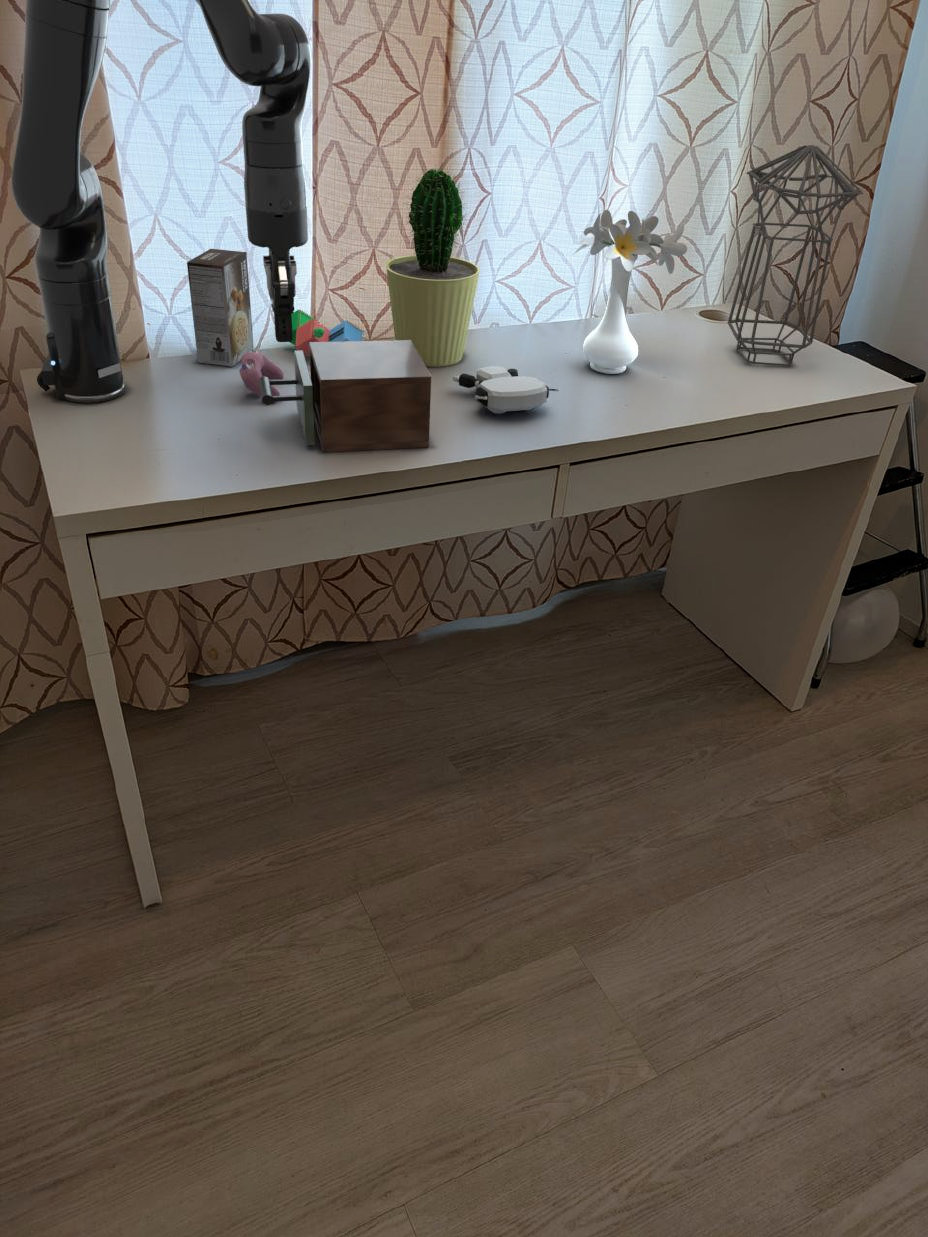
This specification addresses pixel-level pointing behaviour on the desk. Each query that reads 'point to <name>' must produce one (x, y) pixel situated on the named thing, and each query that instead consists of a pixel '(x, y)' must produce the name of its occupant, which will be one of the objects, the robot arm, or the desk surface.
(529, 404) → the robot toy
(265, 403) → the drawer
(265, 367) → the video game controller
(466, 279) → the potted cactus
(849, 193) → the geometric lantern
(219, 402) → the desk surface
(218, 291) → the coffee box
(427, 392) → the cabinet
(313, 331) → the building blocks
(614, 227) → the flower vase
